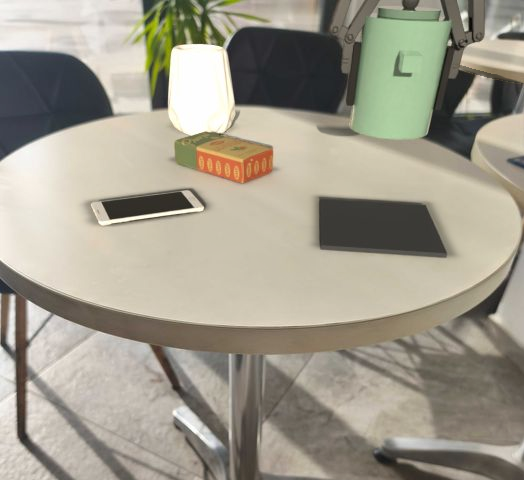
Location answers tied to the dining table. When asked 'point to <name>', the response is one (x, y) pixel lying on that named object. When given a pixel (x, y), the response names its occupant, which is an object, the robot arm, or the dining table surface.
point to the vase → (200, 89)
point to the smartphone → (146, 207)
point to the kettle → (399, 71)
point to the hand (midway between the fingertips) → (392, 105)
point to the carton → (224, 156)
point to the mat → (378, 228)
